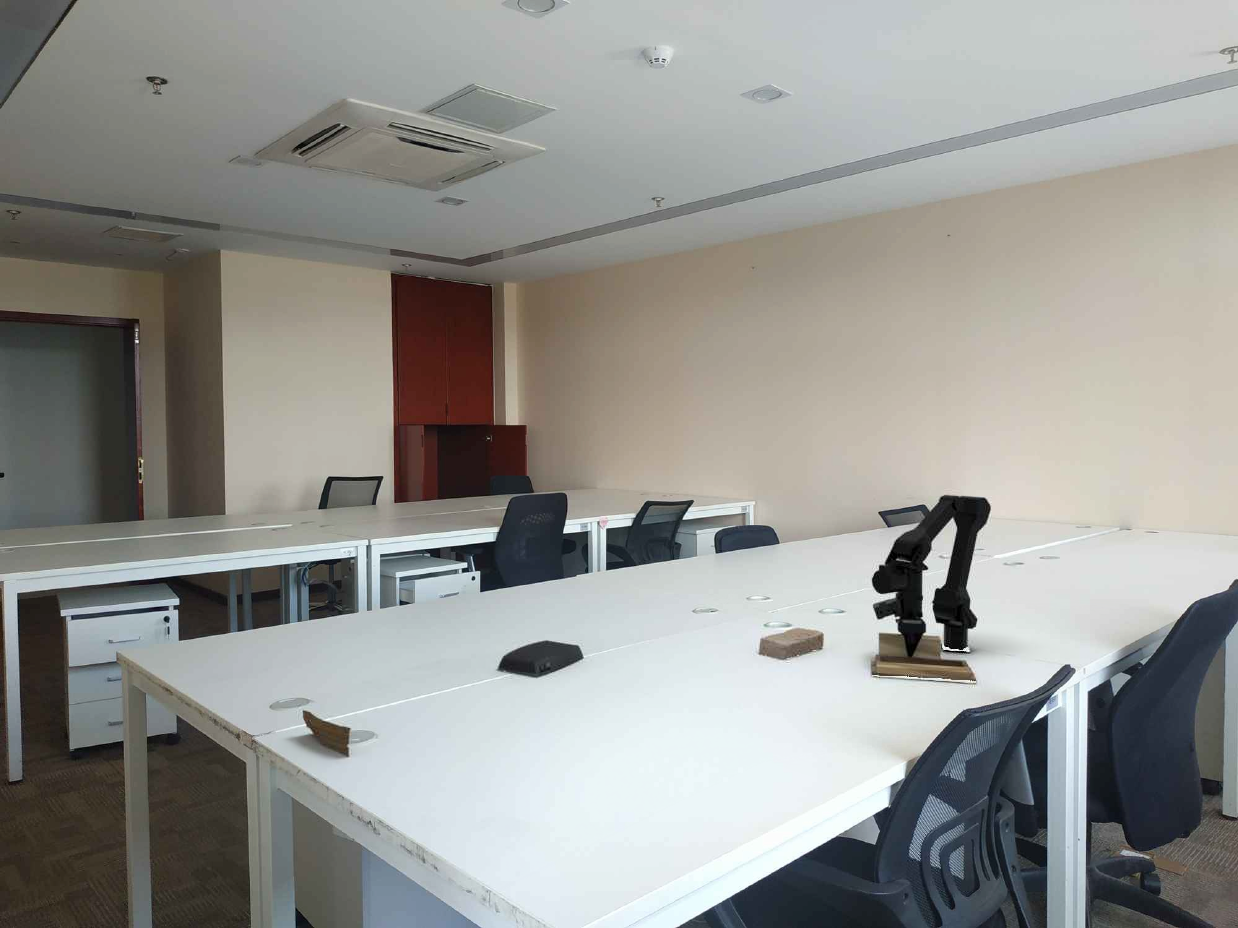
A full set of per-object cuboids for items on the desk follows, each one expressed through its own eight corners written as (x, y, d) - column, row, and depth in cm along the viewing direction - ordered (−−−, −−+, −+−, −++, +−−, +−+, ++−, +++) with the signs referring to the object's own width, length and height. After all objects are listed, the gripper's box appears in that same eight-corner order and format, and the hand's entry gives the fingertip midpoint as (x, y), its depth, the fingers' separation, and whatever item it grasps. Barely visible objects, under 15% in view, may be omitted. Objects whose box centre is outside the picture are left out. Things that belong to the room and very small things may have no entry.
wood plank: (356, 754, 149) (355, 726, 149) (345, 758, 148) (345, 729, 147) (312, 733, 160) (311, 707, 159) (302, 736, 158) (301, 710, 158)
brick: (784, 661, 208) (784, 642, 208) (757, 654, 214) (757, 636, 214) (825, 650, 219) (825, 631, 218) (798, 643, 225) (798, 626, 225)
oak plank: (878, 656, 212) (878, 632, 211) (938, 660, 208) (939, 636, 208) (879, 660, 208) (879, 635, 208) (940, 664, 204) (940, 639, 204)
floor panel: (870, 664, 204) (871, 654, 203) (970, 671, 198) (970, 660, 198) (871, 676, 194) (872, 665, 194) (976, 684, 188) (976, 672, 188)
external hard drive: (494, 671, 201) (494, 654, 201) (543, 653, 217) (543, 636, 217) (539, 680, 194) (538, 662, 194) (586, 660, 210) (586, 643, 210)
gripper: (873, 581, 218) (873, 642, 219) (876, 595, 200) (875, 661, 201) (920, 583, 215) (919, 644, 216) (926, 597, 197) (925, 664, 198)
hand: (909, 653), depth 208 cm, fingers open, 6 cm apart
